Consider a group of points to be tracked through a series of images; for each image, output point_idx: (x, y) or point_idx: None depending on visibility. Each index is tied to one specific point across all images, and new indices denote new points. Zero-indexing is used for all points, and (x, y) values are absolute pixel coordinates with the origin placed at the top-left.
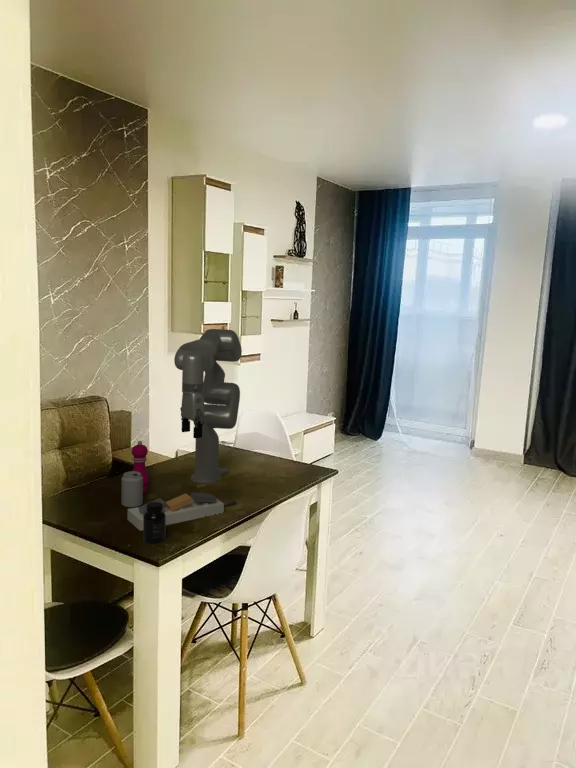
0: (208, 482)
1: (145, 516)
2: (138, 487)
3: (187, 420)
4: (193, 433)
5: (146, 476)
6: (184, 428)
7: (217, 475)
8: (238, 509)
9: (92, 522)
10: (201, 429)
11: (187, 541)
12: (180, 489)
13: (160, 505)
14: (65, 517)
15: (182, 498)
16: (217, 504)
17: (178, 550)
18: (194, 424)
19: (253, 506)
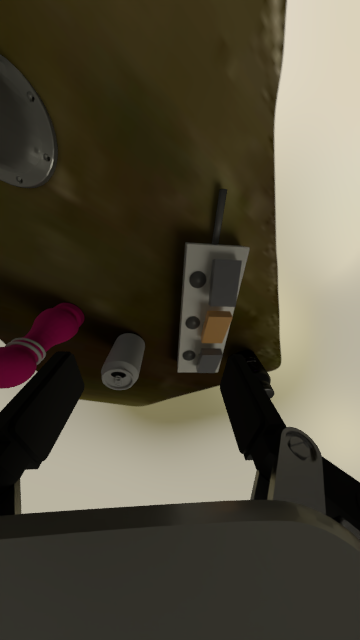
0: (55, 153)
1: None
2: (139, 361)
3: (10, 456)
4: (229, 411)
5: (64, 322)
6: (71, 400)
7: (8, 80)
8: (241, 199)
9: (163, 385)
10: (265, 403)
11: (271, 334)
12: (79, 246)
13: (273, 392)
14: (137, 397)
15: (219, 326)
16: (243, 261)
17: (279, 349)
18: (260, 487)
19: (252, 147)
